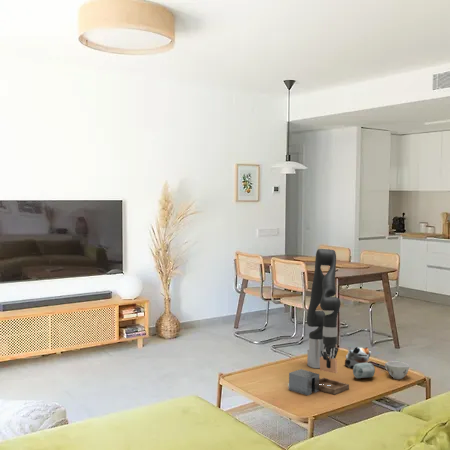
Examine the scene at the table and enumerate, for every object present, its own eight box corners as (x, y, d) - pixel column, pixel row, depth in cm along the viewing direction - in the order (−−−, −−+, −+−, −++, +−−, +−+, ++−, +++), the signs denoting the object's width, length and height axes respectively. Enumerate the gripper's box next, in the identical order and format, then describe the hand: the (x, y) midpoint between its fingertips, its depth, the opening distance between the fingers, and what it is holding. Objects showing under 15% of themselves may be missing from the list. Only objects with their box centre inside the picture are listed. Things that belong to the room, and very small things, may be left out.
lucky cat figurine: (365, 364, 334) (366, 342, 333) (373, 371, 322) (374, 348, 321) (342, 364, 332) (343, 342, 331) (349, 371, 320) (350, 348, 319)
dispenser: (288, 389, 286) (289, 372, 286) (300, 385, 293) (301, 369, 293) (307, 395, 277) (307, 378, 277) (319, 391, 284) (319, 374, 284)
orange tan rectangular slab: (320, 370, 292) (319, 357, 292) (321, 369, 293) (321, 356, 293) (335, 373, 285) (335, 359, 285) (337, 372, 286) (336, 359, 286)
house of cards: (357, 363, 339) (357, 350, 338) (343, 360, 343) (343, 348, 343) (361, 359, 346) (361, 347, 346) (347, 357, 351) (348, 345, 351)
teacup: (413, 378, 307) (414, 364, 306) (399, 382, 300) (399, 368, 299) (391, 372, 319) (392, 358, 319) (377, 375, 312) (378, 361, 312)
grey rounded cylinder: (359, 379, 297) (364, 361, 299) (346, 374, 306) (352, 357, 307) (375, 384, 304) (380, 367, 305) (363, 379, 312) (368, 362, 314)
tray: (309, 387, 290) (309, 382, 290) (324, 382, 299) (324, 377, 299) (334, 395, 278) (334, 390, 278) (348, 389, 287) (349, 384, 287)
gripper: (331, 331, 295) (331, 363, 296) (316, 335, 286) (316, 368, 286) (343, 334, 290) (342, 366, 290) (328, 338, 280) (327, 371, 281)
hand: (329, 367), depth 288 cm, fingers closed on orange tan rectangular slab
